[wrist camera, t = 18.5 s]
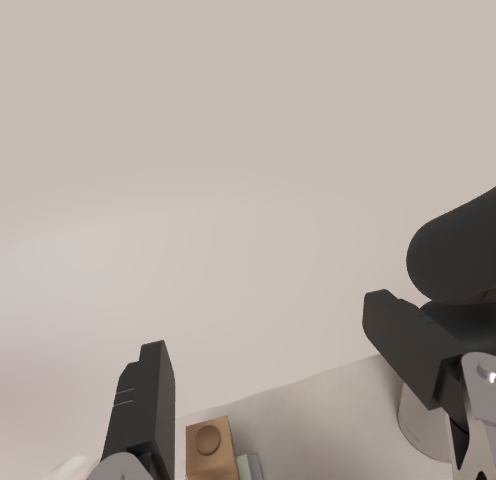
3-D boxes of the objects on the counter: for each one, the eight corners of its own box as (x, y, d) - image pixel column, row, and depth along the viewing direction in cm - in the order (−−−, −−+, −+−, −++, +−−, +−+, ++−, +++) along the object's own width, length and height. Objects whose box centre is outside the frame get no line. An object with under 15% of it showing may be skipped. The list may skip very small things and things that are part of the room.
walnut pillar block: (238, 469, 35) (226, 410, 31) (245, 514, 31) (232, 455, 27) (202, 479, 35) (184, 421, 30) (204, 527, 31) (184, 468, 26)
